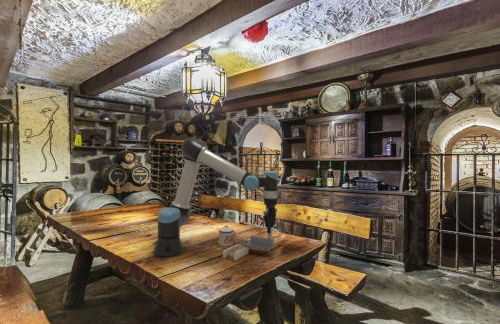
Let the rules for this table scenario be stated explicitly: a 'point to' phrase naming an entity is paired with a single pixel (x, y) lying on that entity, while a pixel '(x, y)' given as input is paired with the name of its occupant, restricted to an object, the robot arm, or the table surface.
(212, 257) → the table surface
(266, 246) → the cover
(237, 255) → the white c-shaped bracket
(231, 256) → the dowel
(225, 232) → the teacup with lid
